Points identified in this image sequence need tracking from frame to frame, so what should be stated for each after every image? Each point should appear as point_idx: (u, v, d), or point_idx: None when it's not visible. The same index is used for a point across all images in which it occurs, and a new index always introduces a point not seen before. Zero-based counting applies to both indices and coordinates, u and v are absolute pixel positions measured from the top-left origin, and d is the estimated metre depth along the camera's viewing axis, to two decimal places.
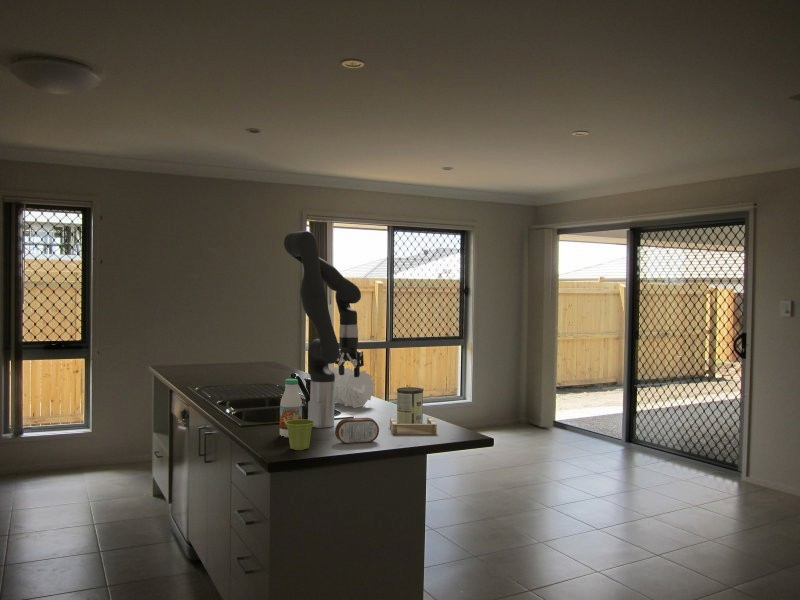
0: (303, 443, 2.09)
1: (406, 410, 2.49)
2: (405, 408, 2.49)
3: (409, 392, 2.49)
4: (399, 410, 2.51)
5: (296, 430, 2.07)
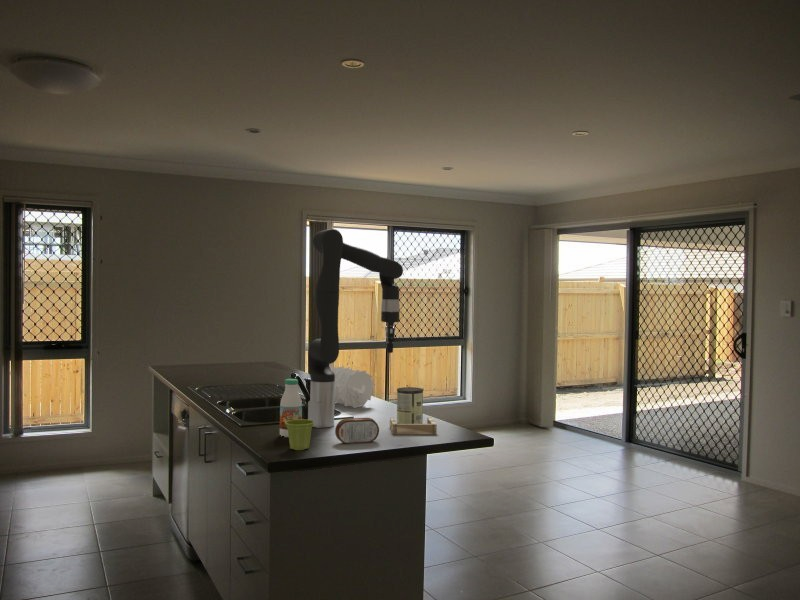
0: (303, 443, 2.09)
1: (406, 410, 2.49)
2: (405, 408, 2.49)
3: (409, 392, 2.49)
4: (399, 410, 2.51)
5: (296, 430, 2.07)
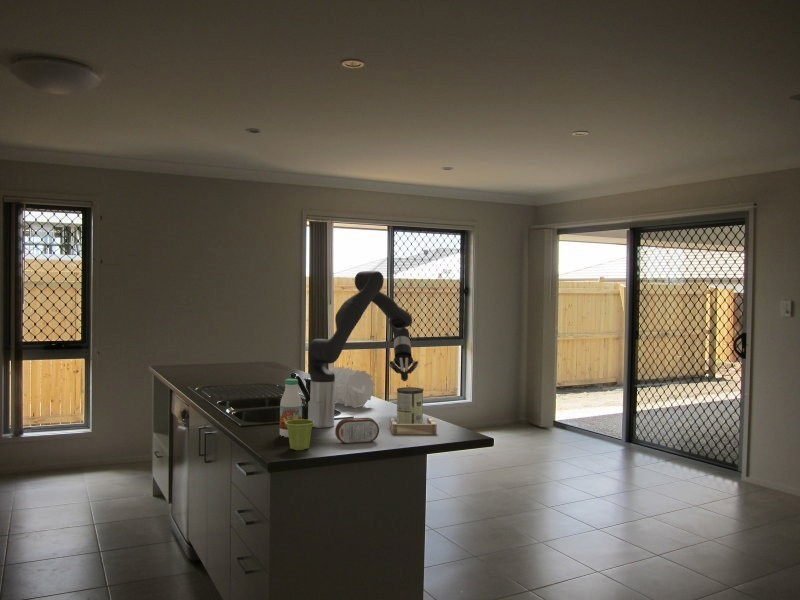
0: (303, 443, 2.09)
1: (406, 410, 2.49)
2: (405, 408, 2.49)
3: (409, 392, 2.49)
4: (399, 410, 2.51)
5: (296, 430, 2.07)
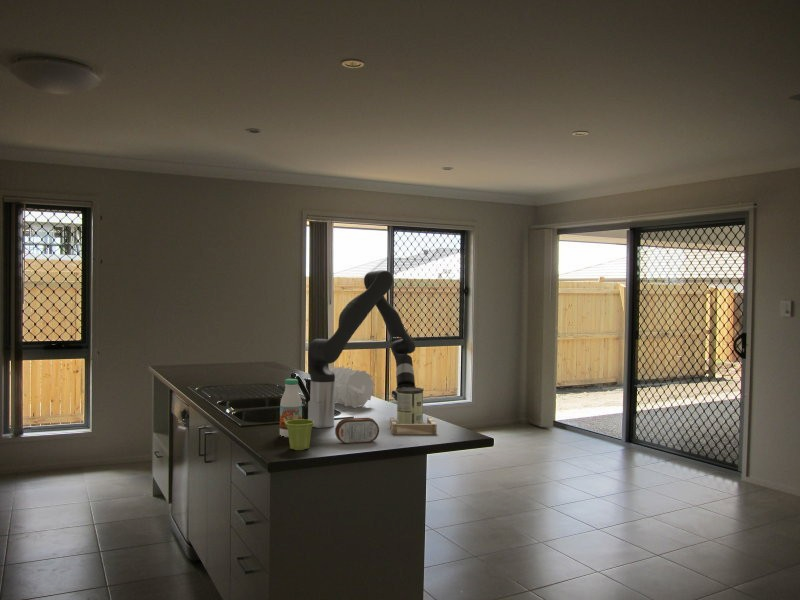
0: (303, 443, 2.09)
1: (406, 410, 2.49)
2: (405, 408, 2.49)
3: (409, 392, 2.49)
4: (399, 410, 2.51)
5: (296, 430, 2.07)
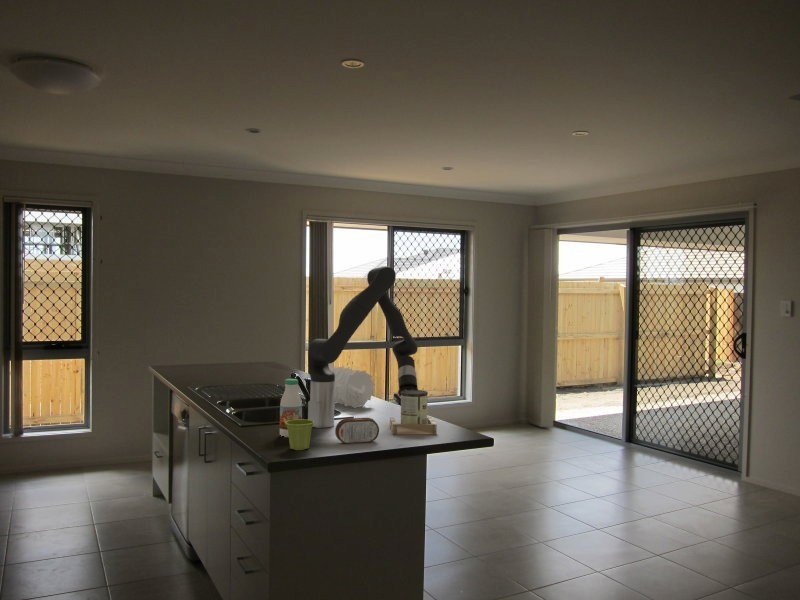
0: (303, 443, 2.09)
1: (412, 414, 2.41)
2: (411, 412, 2.41)
3: (415, 395, 2.41)
4: (404, 414, 2.43)
5: (296, 430, 2.07)
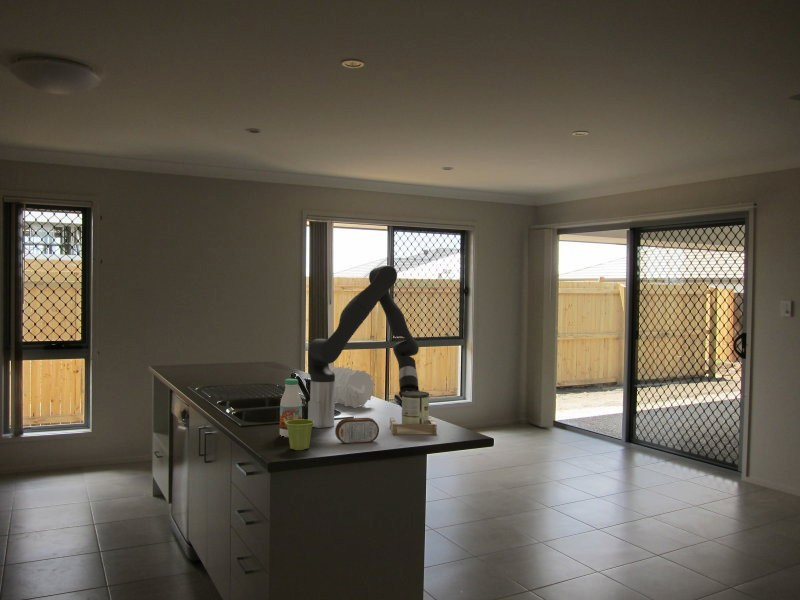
0: (303, 443, 2.09)
1: (414, 415, 2.38)
2: (412, 413, 2.38)
3: (417, 396, 2.38)
4: (405, 415, 2.40)
5: (296, 430, 2.07)
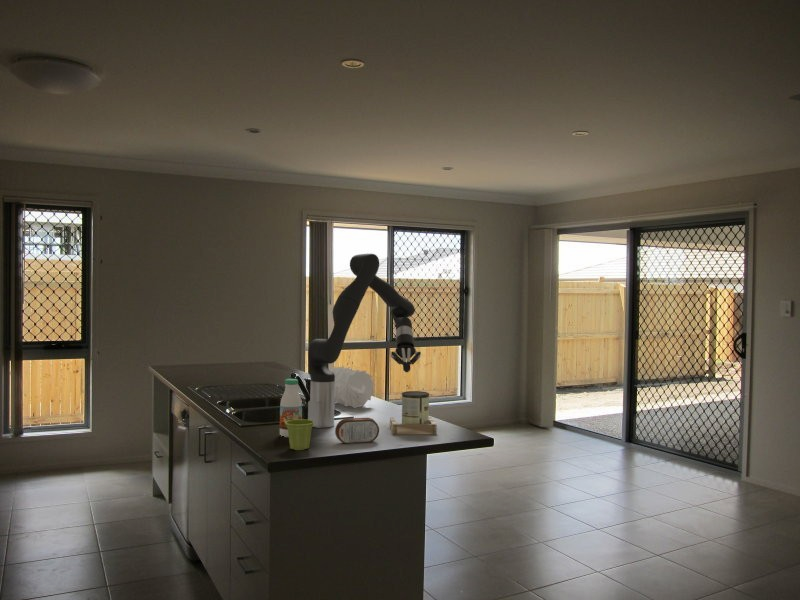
0: (303, 443, 2.09)
1: (414, 415, 2.38)
2: (412, 413, 2.38)
3: (417, 396, 2.38)
4: (405, 415, 2.40)
5: (296, 430, 2.07)
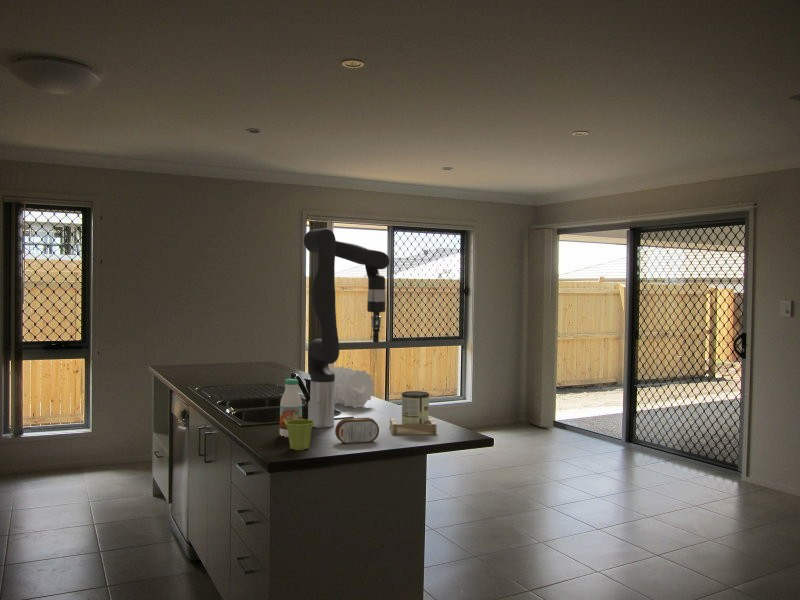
0: (303, 443, 2.09)
1: (414, 415, 2.38)
2: (412, 413, 2.38)
3: (417, 396, 2.38)
4: (405, 415, 2.40)
5: (296, 430, 2.07)
